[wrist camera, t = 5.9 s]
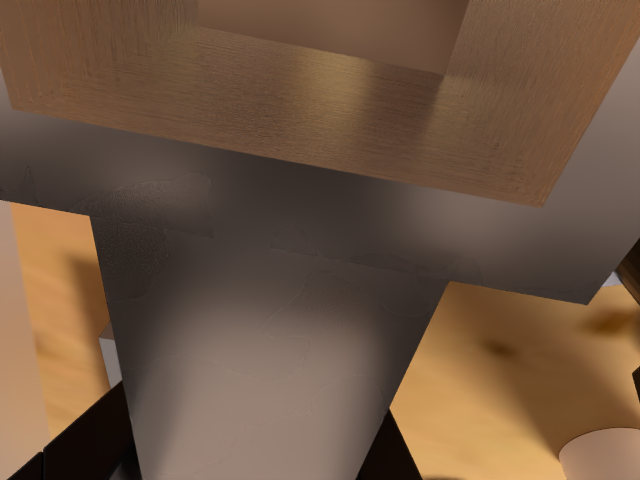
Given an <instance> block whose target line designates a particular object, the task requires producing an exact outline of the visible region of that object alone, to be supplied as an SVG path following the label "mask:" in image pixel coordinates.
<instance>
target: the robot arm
mask: <svg viewBox="0 0 640 480" xmlns="http://www.w3.org/2000/svg"><path fill="white" fill-rule="evenodd" d="M620 284H623V285H624V287H625V288H626V289H627V290H628V292H629V293H630V294H631V295H632V297H633V298H634V299H635V300H636V302H637V303H638V304H639V305H640V238H639V239H638V240H637V242H636V243H635V244H634V246H633V247H632V248H631V249H630V251H629V252H628V253H627V255H626V256H625V257H624V258H623V260H622V261H621V262H620V264H619V265H618V266H617V267H616V269H615V270H614V271H613V273H612V274H611V275H610V276H609V278H608V279H607V280H606V282H605V283H604V284H603V285H602V287H606V286H613V285H620ZM632 376H633V380H634V384H635V387H636V391H637V395H638V398H639V402H640V366H639V367H638V368H637V369H636V370H635V371H634V372H633V373H632ZM7 480H142V475H141V470H140V465H139V460H138V455H137V450H136V445H135V440H134V435H133V430H132V425H131V420H130V415H129V410H128V405H127V400H126V395H125V390H124V385H123V380H121V381H120V382H118V383H117V384H116V385H115V386H114V387H113V388H112V389H110V390H109V391H108V392H107V393H106V394H105V395H104V396H102V397H101V398H100V399H99V400H98V401H97V402H96V403H95V404H93V405H92V406H91V407H90V408H89V409H88V410H87V411H85V412H84V413H83V414H82V415H81V416H80V417H79V418H77V419H76V420H75V421H74V422H73V423H72V424H71V425H69V426H68V427H67V428H66V429H65V430H64V431H63V432H61V433H60V434H59V435H58V436H57V437H56V438H55V439H53V440H52V441H51V442H50V443H49V444H48V445H47V446H46V447H44V449H43V452H38V453H37V454H36V455H35V456H34V457H33V458H32V459H30V461H28V462H27V463H26V464H25V465H24V466H22V467H21V468H20V469H19V470H18V471H17V472H16V473H14V474H13V475H12V476H11V477H10V478H8V479H7ZM355 480H423V479H422V477H421V475H420V473H419V471H418V468H417V466H416V464H415V462H414V460H413V458H412V456H411V454H410V451H409V449H408V447H407V445H406V443H405V441H404V439H403V436H402V434H401V432H400V430H399V428H398V426H397V424H396V421H395V419H394V417H393V415H392V413H391V411H390V409H388V411H387V413H386V415H385V417H384V419H383V422H382V424H381V426H380V428H379V430H378V432H377V434H376V436H375V439H374V441H373V443H372V445H371V447H370V449H369V451H368V453H367V455H366V458H365V460H364V462H363V464H362V466H361V468H360V470H359V472H358V474H357V477H356V479H355Z"/></svg>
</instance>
